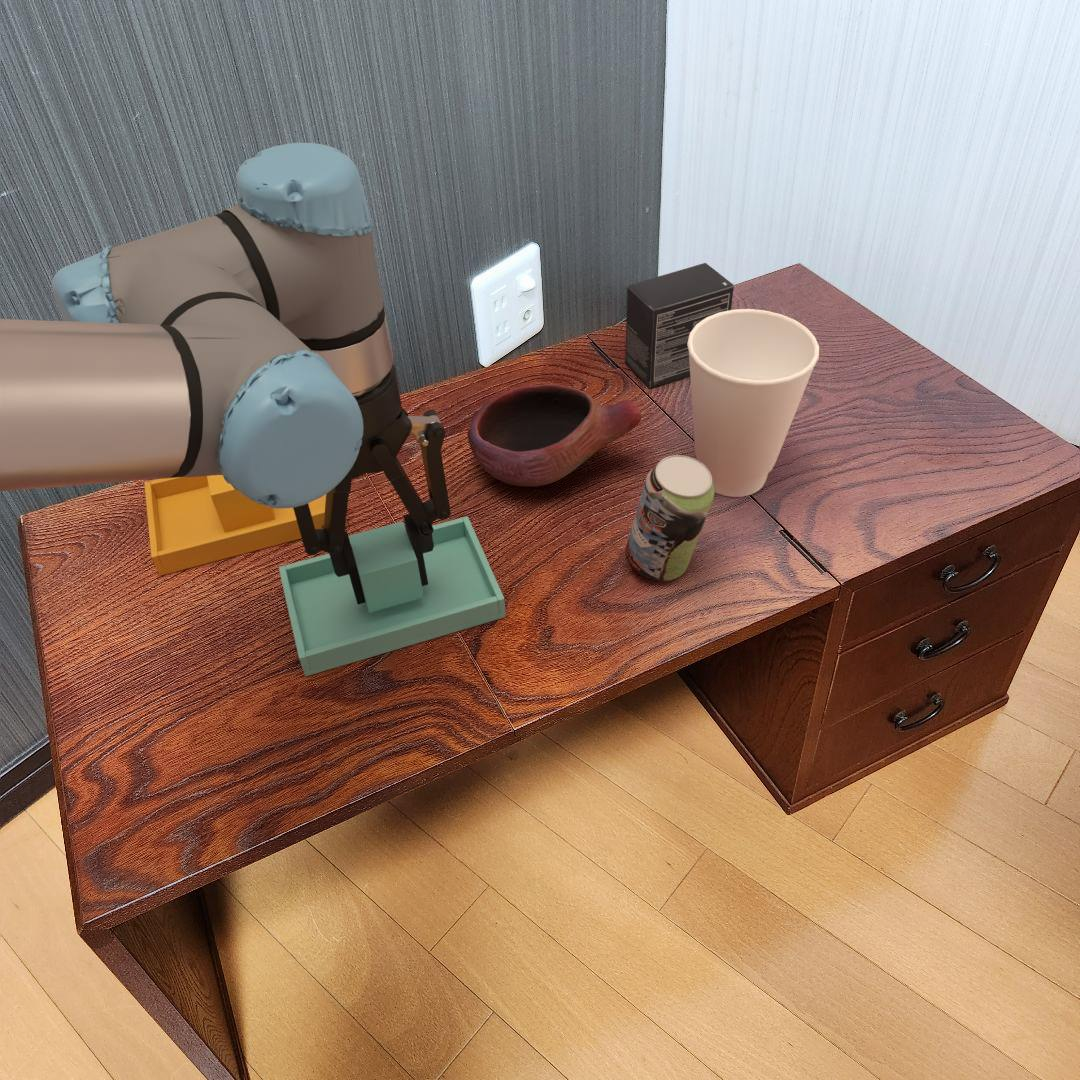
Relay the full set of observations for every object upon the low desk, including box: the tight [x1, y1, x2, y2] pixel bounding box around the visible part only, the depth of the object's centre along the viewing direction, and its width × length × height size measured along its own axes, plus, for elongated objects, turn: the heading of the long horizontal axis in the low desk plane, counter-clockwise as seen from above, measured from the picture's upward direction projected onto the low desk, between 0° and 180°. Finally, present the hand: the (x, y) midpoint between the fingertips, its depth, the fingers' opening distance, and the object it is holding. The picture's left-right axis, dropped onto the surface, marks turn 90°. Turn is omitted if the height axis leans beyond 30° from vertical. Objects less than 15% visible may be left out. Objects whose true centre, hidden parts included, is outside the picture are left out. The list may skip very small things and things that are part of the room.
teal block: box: [348, 520, 424, 613], centre depth 82 cm, size 5×5×5 cm
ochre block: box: [207, 475, 275, 532], centre depth 92 cm, size 5×5×5 cm
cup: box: [687, 308, 820, 498], centre depth 90 cm, size 12×12×16 cm
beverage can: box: [625, 454, 715, 582], centre depth 83 cm, size 6×7×12 cm
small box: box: [624, 262, 735, 389], centre depth 106 cm, size 11×6×10 cm, turn 115°
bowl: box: [466, 383, 642, 487], centre depth 96 cm, size 16×13×8 cm
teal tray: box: [278, 516, 507, 677], centre depth 85 cm, size 18×11×3 cm, turn 110°
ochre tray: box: [143, 476, 349, 576], centre depth 93 cm, size 18×11×3 cm, turn 110°
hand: (389, 583), depth 84 cm, fingers closed on teal block, 5 cm apart
